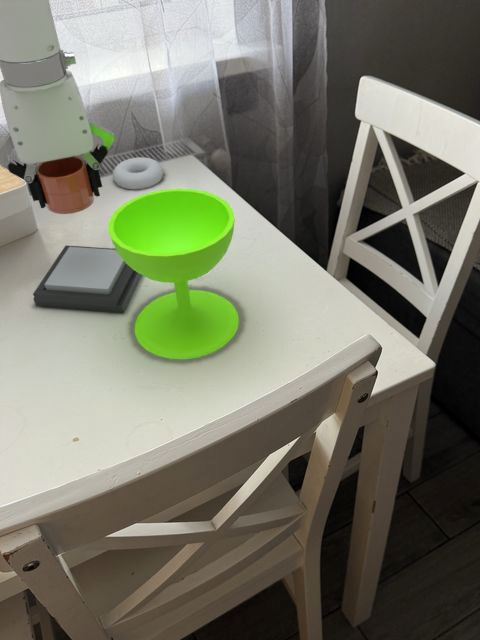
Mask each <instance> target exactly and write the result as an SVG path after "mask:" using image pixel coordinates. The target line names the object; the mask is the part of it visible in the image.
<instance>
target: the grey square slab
mask: <svg viewBox="0 0 480 640" xmlns="http://www.w3.org/2000/svg"><path fill="white" fill-rule="evenodd" d="M125 266H126V263H125V261H124V260H123V259H122V258H121V256H120V255H119V254H118V253H117V251H116V250H111V249H95V248H80V247H69V248H68V250H67V251H66V253H65V254H64V256H63V257H62V259H61V260H60V262H59V263H58V265H57V266H56V268H55V269H54V271H53V272H52V274H51V275H50V277H49V278H48V280H47V281H46V283H45V287H46V290H52V291H66V292H79V293H93V294H106V295H111V293H112V291H113V289H114V287H115V285H116V283H117V281H118V279H119V277H120V276H121V274H122V272H123V270H124V268H125Z"/></svg>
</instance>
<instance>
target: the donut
mask: <svg viewBox="0 0 480 640" xmlns="http://www.w3.org/2000/svg"><path fill="white" fill-rule="evenodd" d="M163 176H164V169H163V166H162V165H161V163H159V161H157V160H155V159H153V158H150V157H140V156H139V157H131V158H129V159H125V160H123V161H120V162H119V163H118V164H117V165H116V166H115V167H114V169H113V171H112V177H113V181H114V182H115V183H116V185H117V186H119V188H120V187H121V188H122V189H125V190H129V191H130V190H133V191H134V190H135V191H138V190H146V189H149V188H153V187H154V186H156V185H158V184H159V183H160V182H161V181H162V180H163Z"/></svg>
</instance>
